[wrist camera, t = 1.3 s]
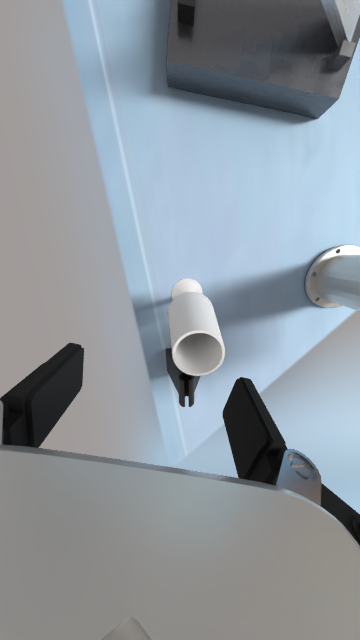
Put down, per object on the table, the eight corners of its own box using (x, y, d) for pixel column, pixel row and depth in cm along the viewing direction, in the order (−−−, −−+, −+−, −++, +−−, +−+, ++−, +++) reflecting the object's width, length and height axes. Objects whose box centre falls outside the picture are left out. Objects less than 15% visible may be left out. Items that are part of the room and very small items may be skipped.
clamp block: (354, 1, 24) (405, -71, 19) (317, 118, 28) (350, 87, 23) (179, -44, 23) (179, -136, 17) (167, 86, 27) (165, 45, 22)
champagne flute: (164, 292, 38) (145, 351, 16) (189, 271, 37) (205, 303, 14) (185, 315, 40) (193, 395, 18) (209, 295, 39) (250, 357, 16)
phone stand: (167, 369, 45) (163, 407, 34) (165, 348, 43) (161, 382, 32) (202, 368, 45) (210, 406, 34) (203, 347, 43) (211, 381, 32)
